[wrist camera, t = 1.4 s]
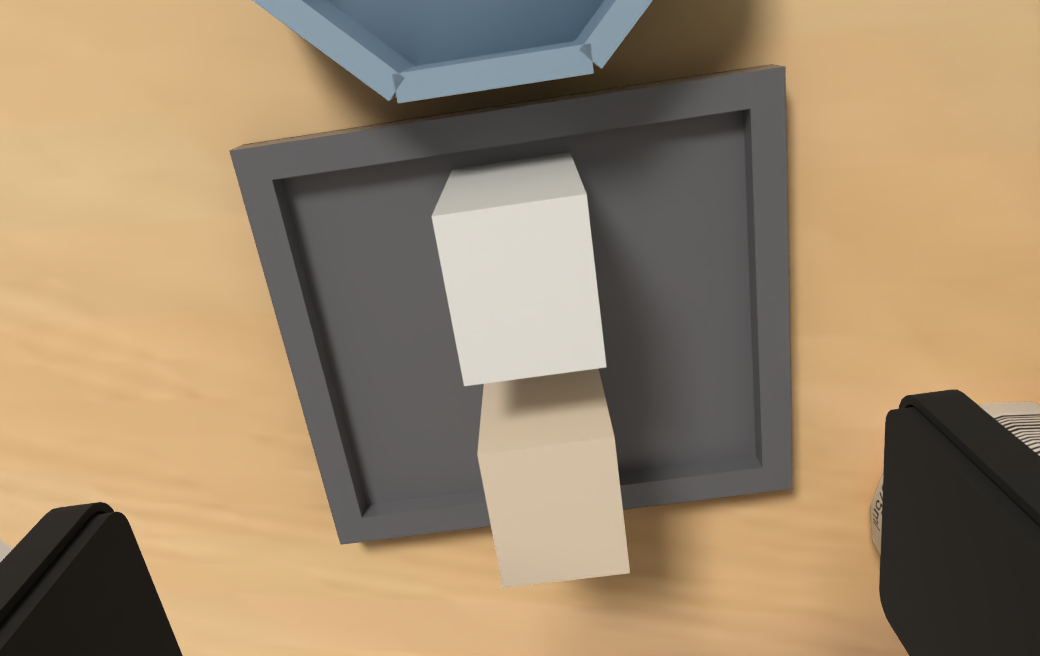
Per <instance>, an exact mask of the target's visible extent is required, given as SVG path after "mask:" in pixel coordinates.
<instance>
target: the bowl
mask: <svg viewBox="0 0 1040 656" xmlns="http://www.w3.org/2000/svg"><path fill="white" fill-rule="evenodd" d="M252 1H254V2H255V3H256V4H258V5H259V6H261V7H262V8H263V9H265V10H266V11H267V12H269V13H270V14H271V15H273V16H274V17H275V18H277V19H278V20H280V21H281V22H282V23H284V24H285V25H286V26H288V27H289V28H290V29H292V30H293V31H294V32H296V33H297V34H298V35H300V36H301V37H303V38H304V39H305V40H307V41H308V42H309V43H311V44H312V45H313V46H315V47H316V48H317V49H319V50H320V51H321V52H323V53H324V54H326V55H327V56H328V57H330V58H331V59H332V60H334V61H335V62H336V63H338V64H339V65H340V66H342V67H343V68H345V69H346V70H347V71H349V72H350V73H351V74H353V75H354V76H355V77H357V78H358V79H359V80H361V81H362V82H363V83H365V84H366V85H368V86H369V87H370V88H372V89H373V90H374V91H376V92H377V93H378V94H380V95H381V96H382V97H384V98H385V99H387V100H388V101H390V100H392V99H394V98H395V97H397V102H398V103H404V102H411V101H417V100H424V99H430V98H437V97H443V96H450V95H456V94H463V93H469V92H476V91H483V90H489V89H496V88H502V87H509V86H515V85H522V84H528V83H535V82H541V81H548V80H555V79H561V78H568V77H574V76H581V75H587V74H594V71H593V64H594V65H596V66H598V67H599V68H601V69H602V68H603V67H604V65H605V64H606V62H607V61H608V60H609V58H610V57H611V56H612V54H613V53H614V52H615V50H616V49H617V48H618V46H619V45H620V44H621V42H622V41H623V40H624V38H625V37H626V36H627V34H628V33H629V32H630V30H631V29H632V28H633V26H634V25H635V24H636V22H637V21H638V19H639V18H640V17H641V15H642V14H643V13H644V11H645V10H646V9H647V7H648V6H649V5H650V3H651V2H652V1H653V0H252Z"/></svg>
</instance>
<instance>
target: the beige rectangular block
mask: <svg viewBox="0 0 1040 656" xmlns="http://www.w3.org/2000/svg"><path fill="white" fill-rule="evenodd" d="M477 456H478V461H479V466H480V471H481V477H482V482H483V487H484V492H485V497H486V503H487V508H488V513H489V518H490V524H491V529H492V534H493V539H494V544H495V550H496V555H497V560H498V565H499V570H500V576H501V581H502V586H503V588H510V587H518V586H526V585H535V584H543V583H551V582H560V581H568V580H577V579H585V578H593V577H602V576H610V575H618V574H627V573H630V568H629V559H628V551H627V542H626V533H625V524H624V516H623V507H622V498H621V490H620V481H619V472H618V463H617V455H616V446H615V437H614V433H613V428H612V424H611V420H610V416H609V411H608V407H607V403H606V398H605V394H604V390H603V385H602V381H601V377H600V373H599V368H598V369H590V370H583V371H575V372H568V373H560V374H553V375H545V376H538V377H530V378H523V379H515V380H508V381H500V382H493V383H485V384H484V387H483V398H482V409H481V419H480V430H479V441H478V452H477Z"/></svg>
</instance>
